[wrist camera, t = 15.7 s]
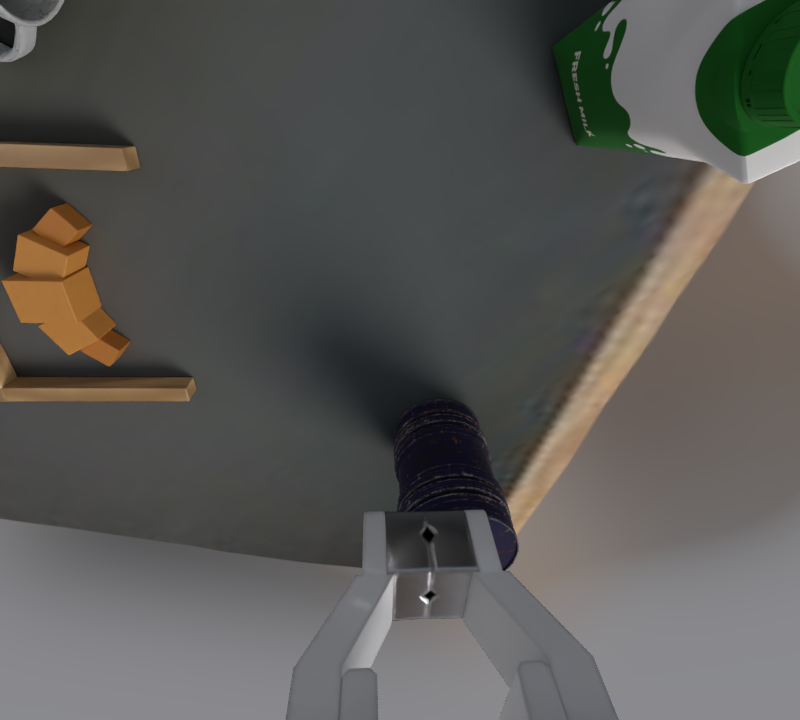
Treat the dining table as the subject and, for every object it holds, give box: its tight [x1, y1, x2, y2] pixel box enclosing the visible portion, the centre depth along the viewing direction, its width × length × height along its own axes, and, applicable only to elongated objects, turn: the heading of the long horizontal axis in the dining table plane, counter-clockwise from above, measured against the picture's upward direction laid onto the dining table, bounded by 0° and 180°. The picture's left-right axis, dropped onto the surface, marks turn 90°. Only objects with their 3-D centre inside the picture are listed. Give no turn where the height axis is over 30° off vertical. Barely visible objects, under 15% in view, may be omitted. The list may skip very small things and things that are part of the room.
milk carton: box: [552, 0, 800, 184], centre depth 22 cm, size 9×9×20 cm
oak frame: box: [0, 141, 196, 401], centre depth 35 cm, size 22×18×2 cm
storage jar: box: [394, 399, 519, 571], centre depth 41 cm, size 10×10×15 cm
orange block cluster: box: [2, 203, 130, 367], centre depth 35 cm, size 14×6×4 cm, turn 178°
